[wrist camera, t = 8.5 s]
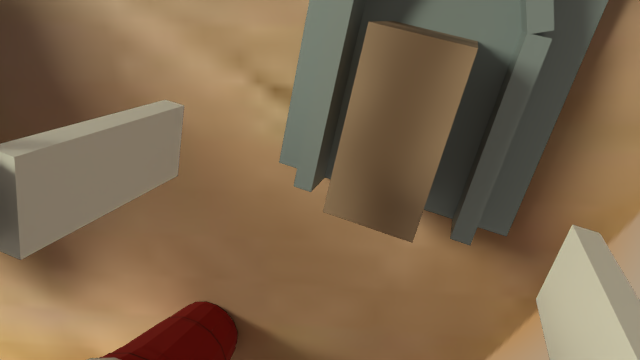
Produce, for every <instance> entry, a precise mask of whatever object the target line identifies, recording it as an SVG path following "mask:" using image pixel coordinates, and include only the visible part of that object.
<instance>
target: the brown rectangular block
mask: <svg viewBox="0 0 640 360" xmlns="http://www.w3.org/2000/svg"><path fill="white" fill-rule="evenodd" d="M477 50H478V41H475V40H471V39H466V38H462V37H458V36H454V35H450V34H446V33H442V32H437V31H433V30H429V29H425V28H421V27H417V26H412V25H408V24H404V23H400V22H396V21H373V22H368V26H367V30H366V34H365V39H364V43H363V47H362V51H361V55H360V59H359V64H358V68H357V72H356V76H355V80H354V84H353V89H352V93H351V97H350V101H349V105H348V109H347V114H346V118H345V122H344V126H343V130H342V134H341V139H340V143H339V147H338V151H337V155H336V159H335V164H334V168H333V172H332V176H331V180H330V184H329V189H328V193H327V197H326V201H325V205H324V209H323V212H324V213H327V214H330V215H333V216H336V217H339V218H342V219H345V220H348V221H350V222H353V223H356V224H359V225H362V226H365V227H368V228H371V229H374V230H377V231H380V232H382V233H385V234H388V235H391V236H394V237H397V238H400V239H403V240H406V241H409V242H413V239H414V237H415V234H416V231H417V228H418V225H419V222H420V219H421V216H422V213H423V210H424V207H425V204H426V201H427V198H428V195H429V192H430V189H431V186H432V183H433V180H434V177H435V174H436V171H437V169H438V166H439V163H440V160H441V157H442V154H443V151H444V148H445V145H446V142H447V139H448V136H449V133H450V130H451V127H452V124H453V121H454V118H455V115H456V112H457V109H458V106H459V104H460V101H461V98H462V95H463V92H464V89H465V86H466V83H467V80H468V77H469V74H470V71H471V68H472V65H473V62H474V59H475V56H476V53H477Z"/></svg>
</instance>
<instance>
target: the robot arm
mask: <svg viewBox="0 0 640 360" xmlns="http://www.w3.org/2000/svg"><path fill="white" fill-rule="evenodd" d="M183 113H184V105H181V104H178V103H175V102H171V101H168V100H163V101H159V102H155V103H151V104H148V105H144V106H140V107H136V108H133V109H129V110H125V111H121V112H118V113H114V114H110V115H106V116H102V117H99V118H95V119H91V120H87V121H84V122H80V123H76V124H72V125H69V126H65V127H61V128H57V129H54V130H50V131H46V132H42V133H39V134H35V135H31V136H27V137H24V138H20V139H16V140H12V141H9V142H5V143H1V144H0V251H1V252H3V253H5V254H8V255H10V256H12V257H15V258H17V259H20V260H21V259H23V258H25V257H27V256H29V255H31V254H33V253H35V252H36V251H38V250H40V249H42V248H44V247H46V246H48V245H49V244H51V243H53V242H55V241H57V240H59V239H61V238H63V237H64V236H66V235H68V234H70V233H72V232H74V231H76V230H77V229H79V228H81V227H83V226H85V225H87V224H89V223H91V222H92V221H94V220H96V219H98V218H100V217H102V216H104V215H105V214H107V213H109V212H111V211H113V210H115V209H117V208H119V207H120V206H122V205H124V204H126V203H128V202H130V201H132V200H133V199H135V198H137V197H139V196H141V195H143V194H145V193H147V192H148V191H150V190H152V189H154V188H156V187H158V186H160V185H161V184H163V183H165V182H167V181H169V180H171V179H173V178H175V177H176V176H178V168H179V157H180V146H181V135H182V124H183ZM536 302H537V307H538V311H539V315H540V320H541V324H542V329H543V333H544V337H545V342H546V346H547V351H548V355H549V359H550V360H640V300H639V298H638V297H637V295H636V293H635V292H634V290H633V288H632V287H631V285H630V283H629V282H628V280H627V278H626V277H625V275H624V273H623V271H622V270H621V268H620V266H619V265H618V263H617V261H616V260H615V258H614V256H613V254H612V253H611V251H610V250H609V248H608V246H607V244H606V243H605V241H604V239H603V238H602V236H601V234H600V233H598V232H595V231H591V230H588V229H585V228H582V227H578V226H575V225H572V226H571V228H570V230H569V232H568V235H567V237H566V239H565V241H564V243H563V245H562V247H561V249H560V251H559V253H558V255H557V257H556V259H555V261H554V263H553V265H552V267H551V269H550V271H549V273H548V275H547V277H546V280H545V282H544V284H543V286H542V288H541V290H540V292H539V294H538V296H537V298H536Z"/></svg>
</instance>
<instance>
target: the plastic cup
mask: <svg viewBox="0 0 640 360" xmlns="http://www.w3.org/2000/svg"><path fill="white" fill-rule="evenodd" d="M237 334H238V333H237V330H236V327H235V324H234V322H233V320H232V319H231V318H230V316H229V315H228V314H227V312H225V311H224V310H222V309H221V308H220V307H218V306H217V305H215V304H212V303H209V302H195V303H193V304H190V305H188V306H186V307H185V308H183V309H181V310H180V311H178V312H177V313H175V314H174V315H172V316H171V317H169V318H167V319H165V320H164V321H162V322H160V323H158V324H157V325H155V326H154V327H152V328H151V329H149V330H148V331H146V332H145V333H143V334H141V335H140V336H138V337H137V338H135V339H134V340H132V341H131V342H129V343H128V344H126V345H125V346H123V347H121V348H119V349H117V350H115V351H114V352H112V353H109V354H107V355H105V356H103V357H100V358H90V359H87V360H230V359H231V356H232V354H233V352H234V350H235V346H236V343H237Z"/></svg>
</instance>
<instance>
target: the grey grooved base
mask: <svg viewBox="0 0 640 360" xmlns="http://www.w3.org/2000/svg"><path fill="white" fill-rule="evenodd" d="M607 2H608V0H310V1H309V6H308V11H307V17H306V22H305V27H304V33H303V38H302V43H301V49H300V54H299V59H298V65H297V70H296V75H295V81H294V86H293V91H292V97H291V102H290V107H289V113H288V118H287V123H286V129H285V134H284V140H283V145H282V150H281V156H280V161H279V163H282V164H285V165H288V166H291V167H295V168H297V172H296V177H295V182H294V187H297V188H300V189H303V190H306V191H309V192H311V191H312V190H313V189H314V188H315V187H316V186H317V185H318V184H319V183H320V182H321V181H322V180H323V179H324V178H328V179H331V176H332V172H333V168H334V164H335V159H336V155H337V151H338V147H339V143H340V139H341V134H342V130H343V126H344V122H345V118H346V114H347V109H348V105H349V101H350V97H351V93H352V89H353V84H354V80H355V76H356V72H357V68H358V64H359V59H360V55H361V51H362V47H363V43H364V39H365V34H366V30H367V26H368V22H373V21H396V22H400V23H404V24H408V25H412V26H417V27H421V28H425V29H429V30H433V31H437V32H442V33H446V34H450V35H454V36H458V37H462V38H466V39H471V40H475V41H478V50H477V53H476V56H475V59H474V62H473V65H472V68H471V71H470V74H469V77H468V80H467V83H466V86H465V89H464V92H463V95H462V98H461V101H460V104H459V106H458V109H457V112H456V115H455V118H454V121H453V124H452V127H451V130H450V133H449V136H448V139H447V142H446V145H445V148H444V151H443V154H442V157H441V160H440V163H439V166H438V169H437V171H436V174H435V177H434V180H433V183H432V186H431V189H430V192H429V195H428V198H427V201H426V204H425V207H424V210H427V211H430V212H433V213H436V214H439V215H442V216H445V217H448V218H451V219H452V228H451V236H450V239H452V240H455V241H458V242H461V243H464V244H467V245H471V242H472V240H473V237H474V235H475V232H476V230H477V227H479V228H482V229H485V230H488V231H491V232H494V233H497V234H500V235H503V236H507V235H508V232H509V230H510V228H511V225H512V223H513V221H514V218H515V216H516V214H517V211H518V209H519V207H520V204H521V202H522V200H523V197H524V195H525V193H526V190H527V188H528V186H529V183H530V181H531V179H532V176H533V174H534V172H535V170H536V167H537V165H538V163H539V160H540V158H541V156H542V153H543V151H544V149H545V146H546V144H547V142H548V139H549V137H550V135H551V132H552V130H553V128H554V125H555V123H556V121H557V118H558V116H559V114H560V111H561V109H562V107H563V104H564V102H565V100H566V97H567V95H568V93H569V91H570V88H571V86H572V84H573V81H574V79H575V77H576V74H577V72H578V70H579V67H580V65H581V63H582V60H583V58H584V56H585V53H586V51H587V49H588V46H589V44H590V42H591V39H592V37H593V35H594V32H595V30H596V28H597V25H598V23H599V21H600V18H601V16H602V14H603V12H604V9H605V7H606V5H607Z"/></svg>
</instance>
